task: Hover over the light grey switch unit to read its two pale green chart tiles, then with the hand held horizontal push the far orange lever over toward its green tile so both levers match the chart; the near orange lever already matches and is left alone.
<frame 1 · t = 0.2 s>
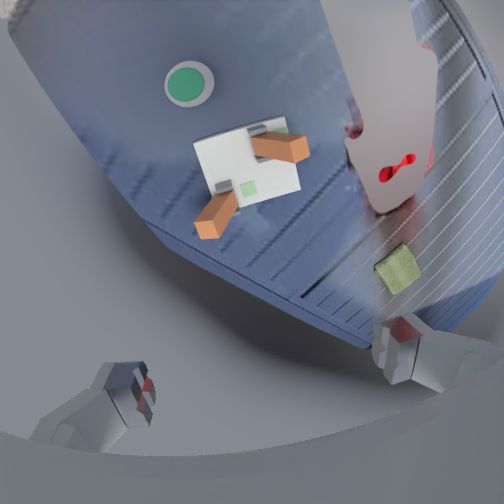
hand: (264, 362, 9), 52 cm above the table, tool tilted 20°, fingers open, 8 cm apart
switch unit: (248, 163, 58), on the table
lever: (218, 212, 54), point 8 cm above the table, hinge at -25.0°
washcloth: (396, 267, 82), on the table
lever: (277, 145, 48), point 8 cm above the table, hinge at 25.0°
milk bottle: (192, 83, 47), on the table
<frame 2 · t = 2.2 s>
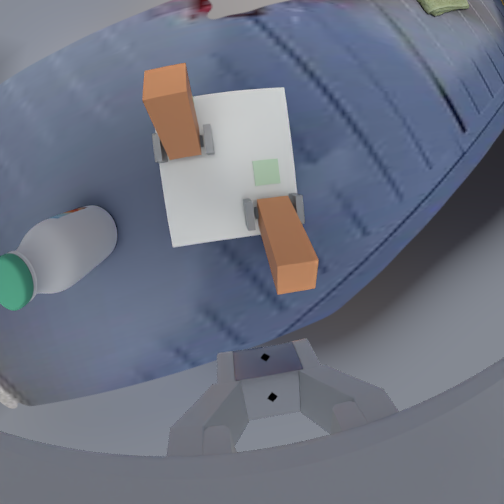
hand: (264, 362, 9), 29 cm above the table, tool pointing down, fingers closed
switch unit: (226, 164, 35), on the table
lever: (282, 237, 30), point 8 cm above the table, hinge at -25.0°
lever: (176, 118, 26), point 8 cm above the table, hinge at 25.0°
milk bottle: (94, 232, 36), on the table
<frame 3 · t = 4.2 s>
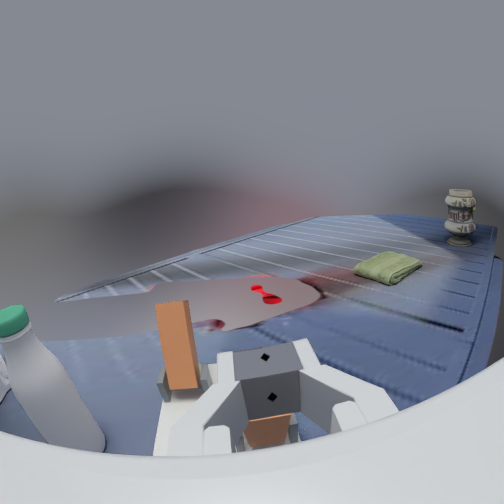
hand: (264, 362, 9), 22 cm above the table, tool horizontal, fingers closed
switch unit: (225, 415, 33), on the table
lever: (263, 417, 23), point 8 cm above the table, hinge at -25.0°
apothecary jar: (459, 242, 82), on the table
washcloth: (388, 272, 70), on the table
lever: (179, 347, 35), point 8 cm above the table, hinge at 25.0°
milk bottle: (82, 447, 26), on the table
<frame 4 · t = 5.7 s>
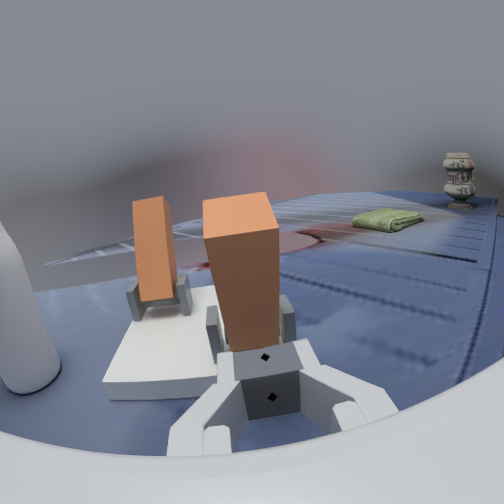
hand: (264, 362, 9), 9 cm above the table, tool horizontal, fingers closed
switch unit: (206, 336, 29), on the table
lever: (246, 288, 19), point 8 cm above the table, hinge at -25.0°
apothecary jar: (460, 207, 78), on the table
washcloth: (389, 225, 67), on the table
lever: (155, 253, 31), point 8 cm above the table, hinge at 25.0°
milk bottle: (34, 376, 22), on the table
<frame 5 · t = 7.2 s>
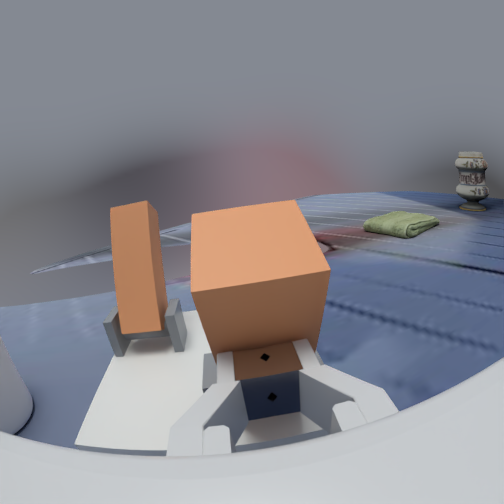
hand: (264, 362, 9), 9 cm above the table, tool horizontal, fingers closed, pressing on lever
switch unit: (203, 378, 22), on the table
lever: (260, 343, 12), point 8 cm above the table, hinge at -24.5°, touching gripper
apothecary jar: (472, 209, 72), on the table
washcloth: (403, 230, 60), on the table
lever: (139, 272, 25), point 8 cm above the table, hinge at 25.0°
milk bottle: (6, 416, 15), on the table
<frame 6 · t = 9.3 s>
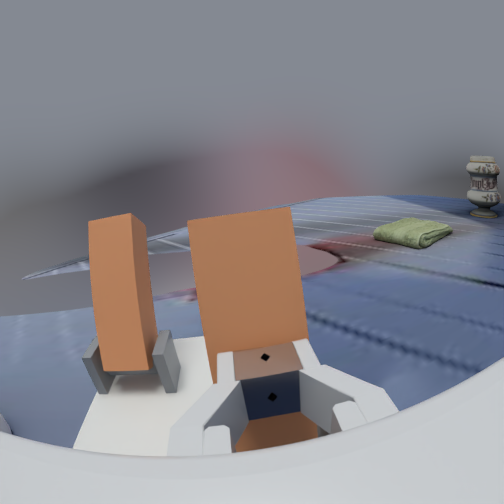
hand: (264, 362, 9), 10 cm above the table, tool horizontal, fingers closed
switch unit: (199, 423, 18), on the table
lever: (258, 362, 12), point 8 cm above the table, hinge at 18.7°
apothecary jar: (483, 215, 67), on the table
washcloth: (414, 238, 56), on the table
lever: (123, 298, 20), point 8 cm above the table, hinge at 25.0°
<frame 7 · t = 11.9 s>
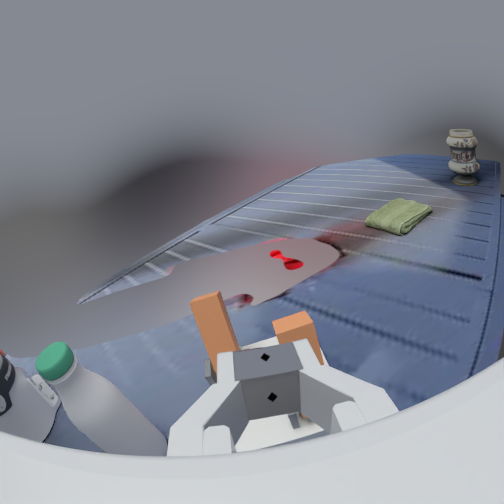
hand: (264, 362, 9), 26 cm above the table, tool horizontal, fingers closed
switch unit: (274, 393, 36), on the table
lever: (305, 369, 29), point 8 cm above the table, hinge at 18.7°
apothecary jar: (464, 181, 78), on the table
washcloth: (399, 220, 69), on the table
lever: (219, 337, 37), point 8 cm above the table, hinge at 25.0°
milk bottle: (146, 451, 31), on the table
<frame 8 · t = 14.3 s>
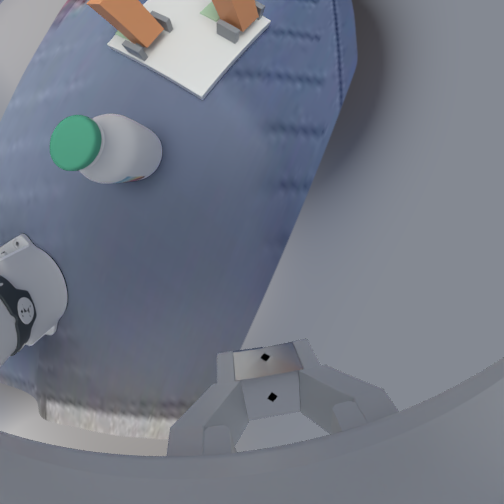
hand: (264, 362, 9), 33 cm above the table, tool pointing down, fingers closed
switch unit: (187, 32, 33), on the table
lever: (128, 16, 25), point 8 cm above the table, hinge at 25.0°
milk bottle: (137, 153, 38), on the table
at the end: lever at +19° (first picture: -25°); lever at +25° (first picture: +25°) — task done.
